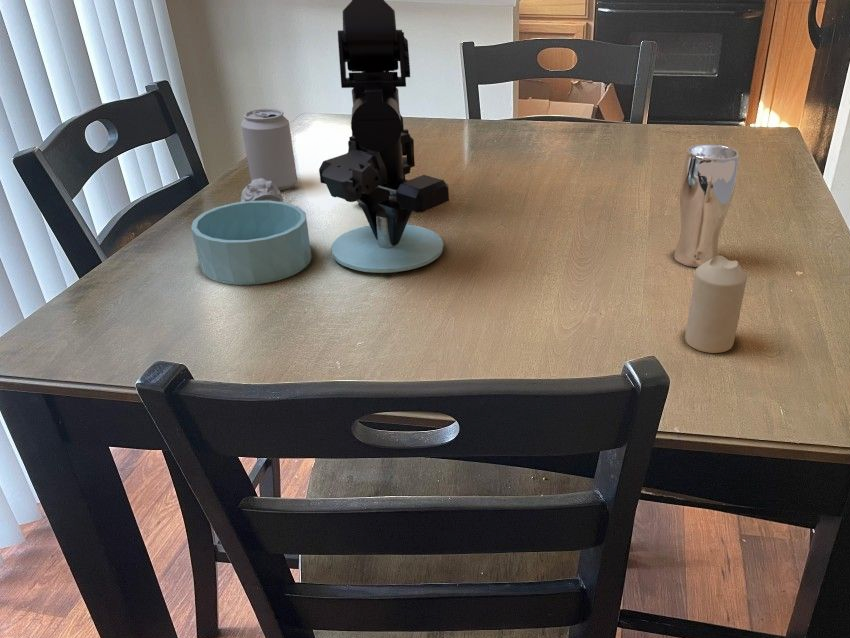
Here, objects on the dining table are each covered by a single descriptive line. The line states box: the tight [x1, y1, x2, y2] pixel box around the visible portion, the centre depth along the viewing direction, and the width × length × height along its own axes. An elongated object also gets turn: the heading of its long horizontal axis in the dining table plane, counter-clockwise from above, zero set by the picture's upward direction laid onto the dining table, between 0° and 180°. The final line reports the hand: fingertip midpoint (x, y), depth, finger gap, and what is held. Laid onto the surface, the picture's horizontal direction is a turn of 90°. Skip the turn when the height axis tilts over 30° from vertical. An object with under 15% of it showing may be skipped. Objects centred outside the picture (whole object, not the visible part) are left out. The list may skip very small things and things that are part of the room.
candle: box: [684, 255, 748, 354], centre depth 85 cm, size 6×6×10 cm
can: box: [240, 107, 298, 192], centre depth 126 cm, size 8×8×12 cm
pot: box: [190, 201, 312, 286], centre depth 103 cm, size 14×15×6 cm
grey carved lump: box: [240, 178, 284, 202], centre depth 113 cm, size 6×7×7 cm
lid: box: [330, 211, 444, 274], centre depth 106 cm, size 15×15×6 cm
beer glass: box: [673, 143, 740, 269], centre depth 103 cm, size 7×7×15 cm
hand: (387, 241), depth 106 cm, fingers closed on lid, 2 cm apart
